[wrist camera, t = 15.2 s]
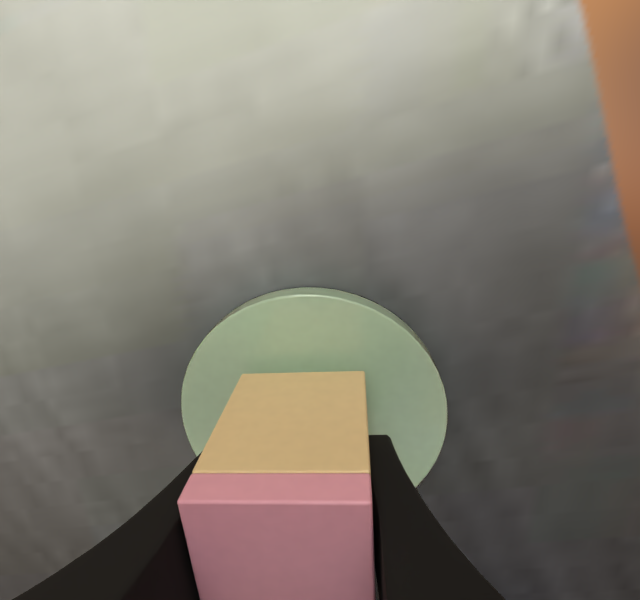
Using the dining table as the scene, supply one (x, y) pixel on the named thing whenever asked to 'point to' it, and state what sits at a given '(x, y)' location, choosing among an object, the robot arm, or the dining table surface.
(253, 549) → the cake slice
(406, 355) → the plate
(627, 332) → the dining table surface
